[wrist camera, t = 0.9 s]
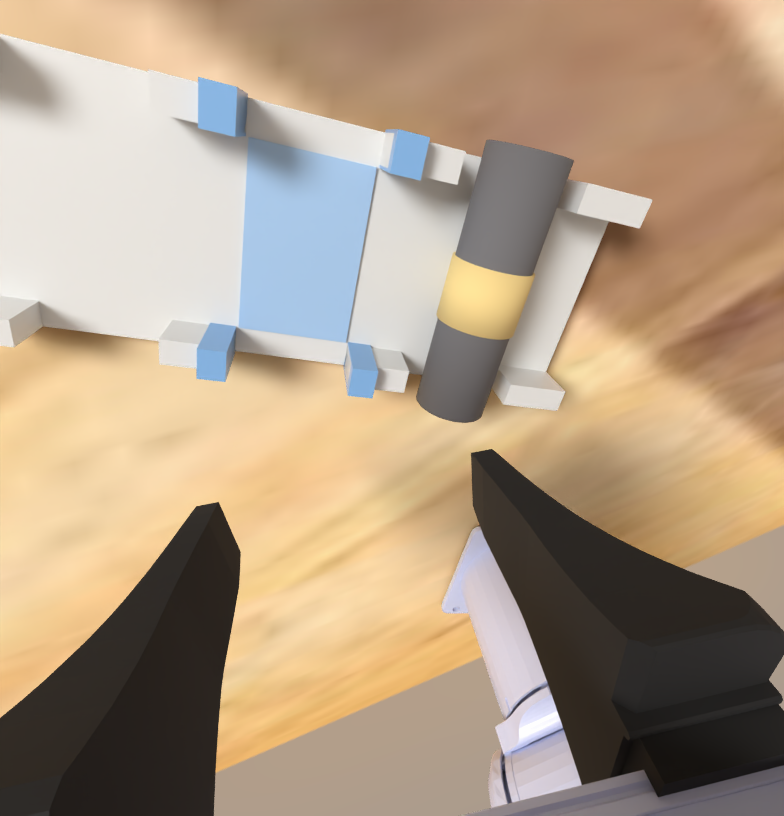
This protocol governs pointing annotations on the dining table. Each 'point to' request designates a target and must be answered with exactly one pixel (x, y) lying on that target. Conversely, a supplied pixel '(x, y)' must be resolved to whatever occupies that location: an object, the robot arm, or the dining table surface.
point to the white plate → (251, 227)
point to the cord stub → (490, 276)
